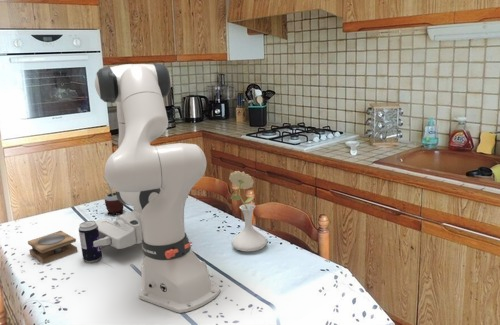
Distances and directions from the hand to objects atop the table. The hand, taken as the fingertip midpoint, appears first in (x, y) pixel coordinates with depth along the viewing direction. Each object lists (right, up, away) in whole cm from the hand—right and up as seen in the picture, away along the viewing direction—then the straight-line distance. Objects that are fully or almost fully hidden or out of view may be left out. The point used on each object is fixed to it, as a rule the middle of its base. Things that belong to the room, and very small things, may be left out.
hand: (87, 241), depth 140 cm
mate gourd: (-4, +4, +42) cm, 42 cm away
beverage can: (+1, -6, +2) cm, 7 cm away
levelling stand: (-14, -5, +8) cm, 17 cm away
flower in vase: (+50, -3, +6) cm, 50 cm away
